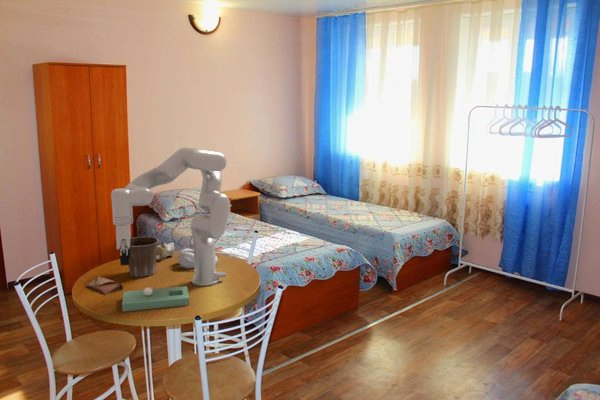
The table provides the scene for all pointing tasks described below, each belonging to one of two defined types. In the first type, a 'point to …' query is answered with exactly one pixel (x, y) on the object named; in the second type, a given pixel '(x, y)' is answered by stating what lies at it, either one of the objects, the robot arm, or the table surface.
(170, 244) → the ceramic sculpture
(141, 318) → the table surface
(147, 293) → the ball
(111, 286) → the sunglasses case
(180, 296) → the green board
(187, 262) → the headphones
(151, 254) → the plant pot
